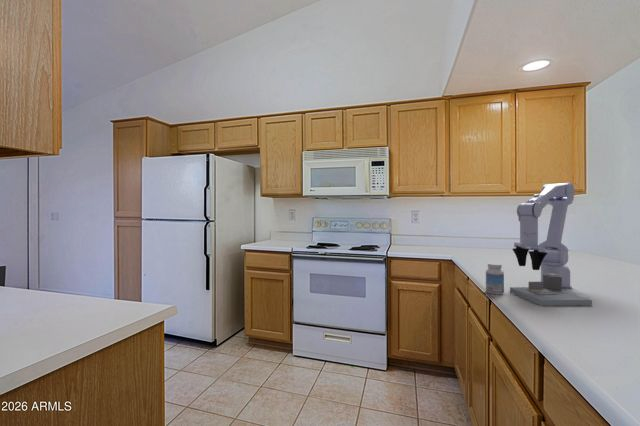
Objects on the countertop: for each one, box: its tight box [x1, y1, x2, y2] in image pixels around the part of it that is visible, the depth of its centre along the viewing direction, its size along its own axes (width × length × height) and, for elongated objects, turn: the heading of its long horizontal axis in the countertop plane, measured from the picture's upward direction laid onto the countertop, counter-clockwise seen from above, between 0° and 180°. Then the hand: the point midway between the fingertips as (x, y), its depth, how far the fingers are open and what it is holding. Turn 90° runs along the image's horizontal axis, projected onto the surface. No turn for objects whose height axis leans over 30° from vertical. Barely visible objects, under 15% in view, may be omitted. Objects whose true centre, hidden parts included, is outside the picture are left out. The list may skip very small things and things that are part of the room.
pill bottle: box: [485, 262, 505, 295], centre depth 114 cm, size 6×6×11 cm
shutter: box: [527, 281, 558, 295], centre depth 107 cm, size 6×6×3 cm
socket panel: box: [509, 286, 593, 307], centre depth 106 cm, size 17×16×2 cm
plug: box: [543, 273, 563, 291], centre depth 111 cm, size 4×4×6 cm
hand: (528, 267), depth 115 cm, fingers open, 7 cm apart
